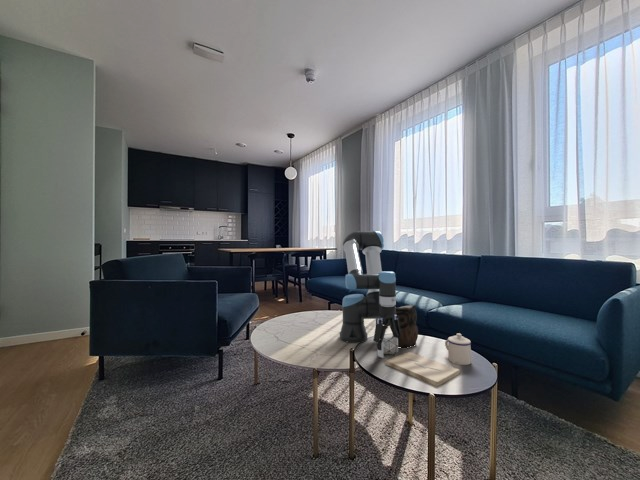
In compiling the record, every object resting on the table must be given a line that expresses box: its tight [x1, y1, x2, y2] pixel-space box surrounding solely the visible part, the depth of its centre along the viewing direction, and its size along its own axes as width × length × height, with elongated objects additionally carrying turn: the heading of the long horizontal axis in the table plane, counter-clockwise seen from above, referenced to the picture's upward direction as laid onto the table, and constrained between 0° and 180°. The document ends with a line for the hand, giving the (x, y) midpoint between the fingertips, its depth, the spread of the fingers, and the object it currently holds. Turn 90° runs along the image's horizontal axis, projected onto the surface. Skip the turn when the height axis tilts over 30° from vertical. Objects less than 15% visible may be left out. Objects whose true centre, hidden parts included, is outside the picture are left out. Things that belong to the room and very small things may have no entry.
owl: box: [392, 304, 419, 349], centre depth 135 cm, size 13×13×20 cm
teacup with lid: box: [444, 332, 472, 366], centre depth 117 cm, size 12×9×12 cm
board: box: [385, 351, 461, 387], centre depth 109 cm, size 23×16×2 cm
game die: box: [382, 336, 398, 357], centre depth 123 cm, size 9×8×10 cm
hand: (388, 354), depth 123 cm, fingers open, 10 cm apart
